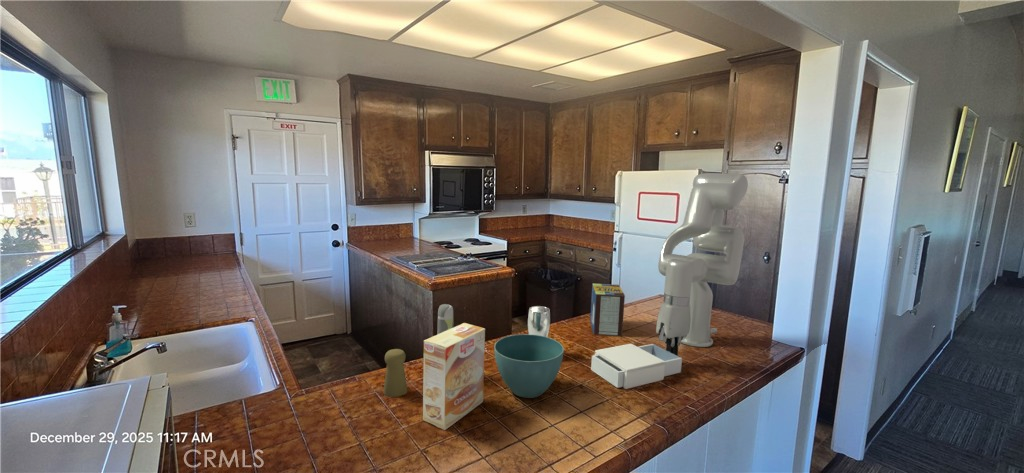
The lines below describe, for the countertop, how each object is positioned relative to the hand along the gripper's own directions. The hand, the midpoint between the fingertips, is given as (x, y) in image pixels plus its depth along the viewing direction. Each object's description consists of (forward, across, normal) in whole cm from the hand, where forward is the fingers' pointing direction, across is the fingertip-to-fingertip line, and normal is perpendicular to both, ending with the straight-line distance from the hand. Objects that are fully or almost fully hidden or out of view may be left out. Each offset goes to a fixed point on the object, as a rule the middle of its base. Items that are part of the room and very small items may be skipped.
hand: (671, 357), depth 133 cm
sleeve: (+2, +17, 0) cm, 17 cm away
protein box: (+2, -1, -33) cm, 33 cm away
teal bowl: (+3, +49, -4) cm, 49 cm away
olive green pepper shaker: (+3, +81, -17) cm, 83 cm away
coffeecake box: (+3, +70, -2) cm, 70 cm away
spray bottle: (+3, +66, -22) cm, 69 cm away
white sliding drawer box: (+2, +14, 0) cm, 14 cm away
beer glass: (+3, +35, -22) cm, 42 cm away
